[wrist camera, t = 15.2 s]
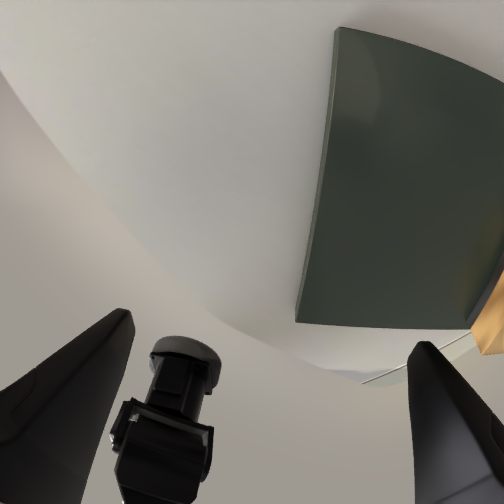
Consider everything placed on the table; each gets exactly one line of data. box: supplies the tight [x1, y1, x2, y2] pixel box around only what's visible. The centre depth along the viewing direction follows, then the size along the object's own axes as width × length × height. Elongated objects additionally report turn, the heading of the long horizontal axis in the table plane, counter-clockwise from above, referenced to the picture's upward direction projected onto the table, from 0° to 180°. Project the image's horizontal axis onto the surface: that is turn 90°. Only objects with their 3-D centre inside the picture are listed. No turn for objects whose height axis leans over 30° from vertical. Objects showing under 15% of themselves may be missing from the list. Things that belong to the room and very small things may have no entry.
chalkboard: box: [295, 27, 504, 330], centre depth 17 cm, size 20×20×2 cm
